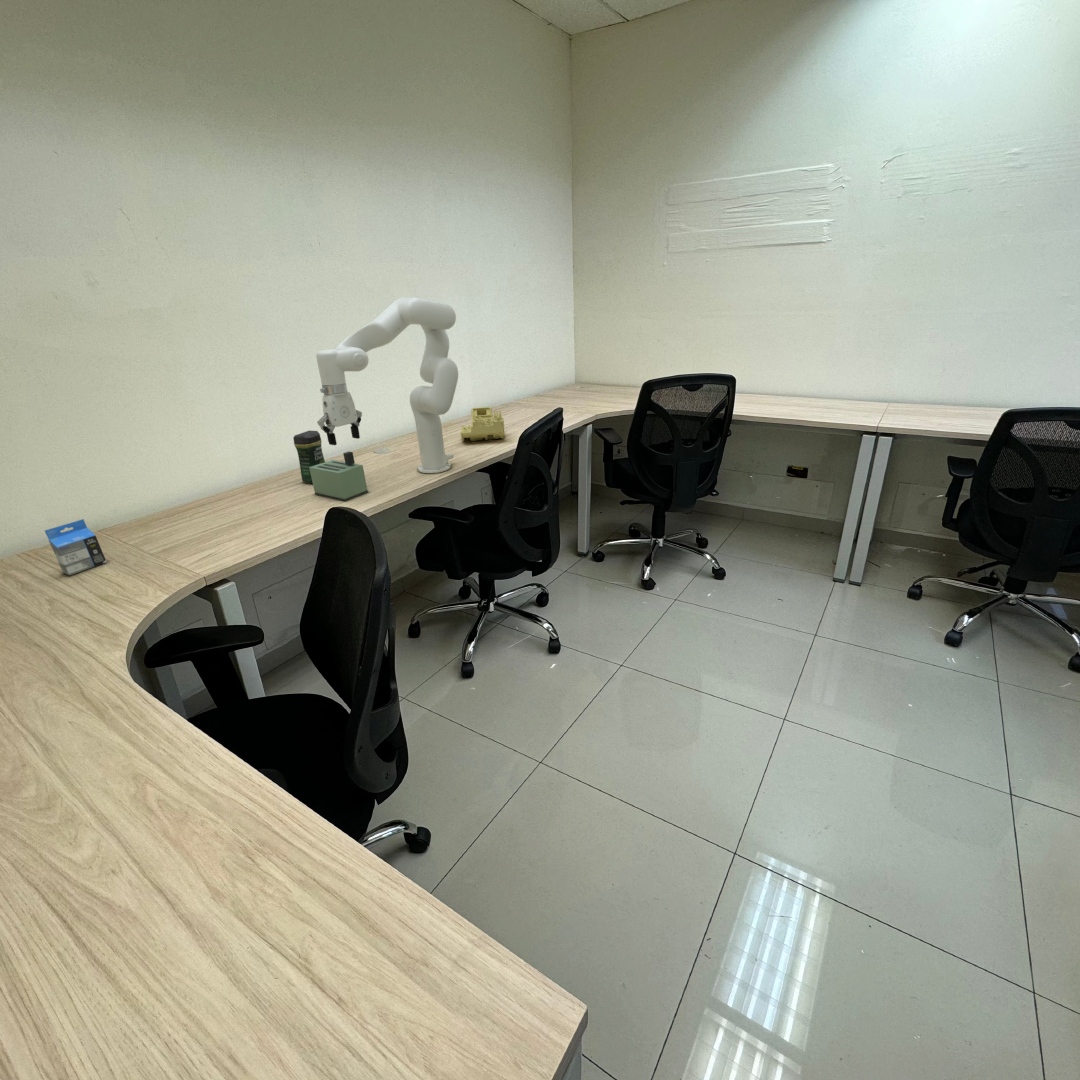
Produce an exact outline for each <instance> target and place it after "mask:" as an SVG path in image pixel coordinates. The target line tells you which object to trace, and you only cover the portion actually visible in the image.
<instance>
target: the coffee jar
mask: <svg viewBox="0 0 1080 1080" xmlns="http://www.w3.org/2000/svg"><path fill="white" fill-rule="evenodd" d="M293 445H294V448H295V449H296V452H297V456H298V463H299V469H300V475H301V476H300V477H301V481H302V483H305V484H313V482H312V478H311V474H310V469H309V467H312V466H315V465H318V464H321V463H324V462H326V461H325V456H324V453H323V448H322V436H321V434H320V432H319V431H318V430H307V431H303V432H300V433H298V434H294V436H293Z"/></svg>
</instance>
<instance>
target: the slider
mask: <svg viewBox="0 0 1080 1080" xmlns="http://www.w3.org/2000/svg"><path fill="white" fill-rule="evenodd" d="M342 454H343V458H344V462H345V464H346V465H351V464H356V463H355V457H354V452H353V451H345V452H343V453H342Z"/></svg>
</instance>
